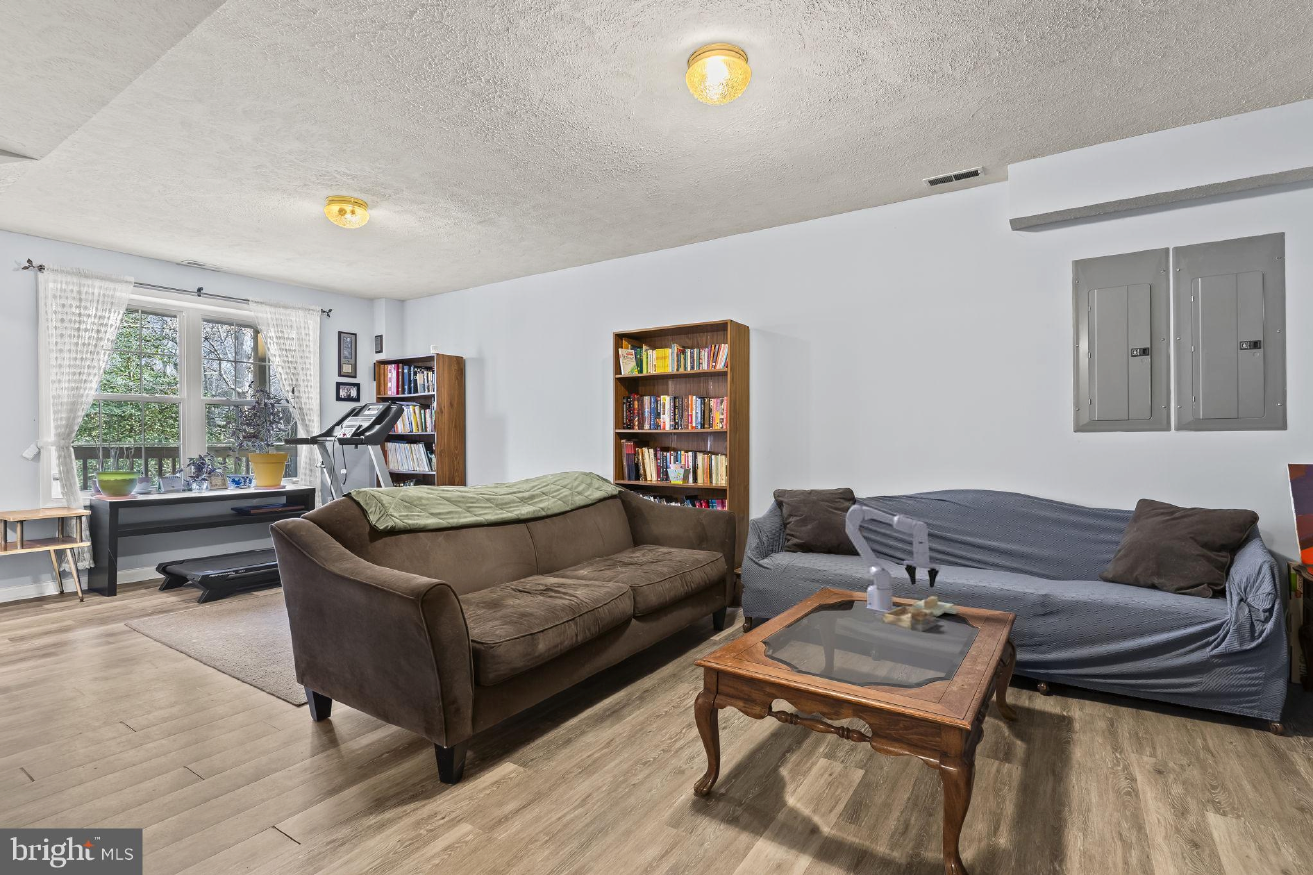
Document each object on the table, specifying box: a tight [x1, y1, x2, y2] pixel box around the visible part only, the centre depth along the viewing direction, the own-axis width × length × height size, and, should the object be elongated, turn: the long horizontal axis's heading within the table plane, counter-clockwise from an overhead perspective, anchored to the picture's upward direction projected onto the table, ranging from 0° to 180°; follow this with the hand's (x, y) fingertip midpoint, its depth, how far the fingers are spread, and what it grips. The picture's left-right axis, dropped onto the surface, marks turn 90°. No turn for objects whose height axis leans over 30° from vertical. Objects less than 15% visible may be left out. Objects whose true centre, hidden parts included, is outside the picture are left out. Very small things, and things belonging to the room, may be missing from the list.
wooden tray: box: [882, 605, 938, 633], centre depth 240 cm, size 16×17×4 cm
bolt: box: [911, 610, 927, 621], centre depth 231 cm, size 4×4×2 cm
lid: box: [910, 595, 960, 618], centre depth 252 cm, size 16×16×5 cm
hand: (922, 585), depth 253 cm, fingers open, 7 cm apart
